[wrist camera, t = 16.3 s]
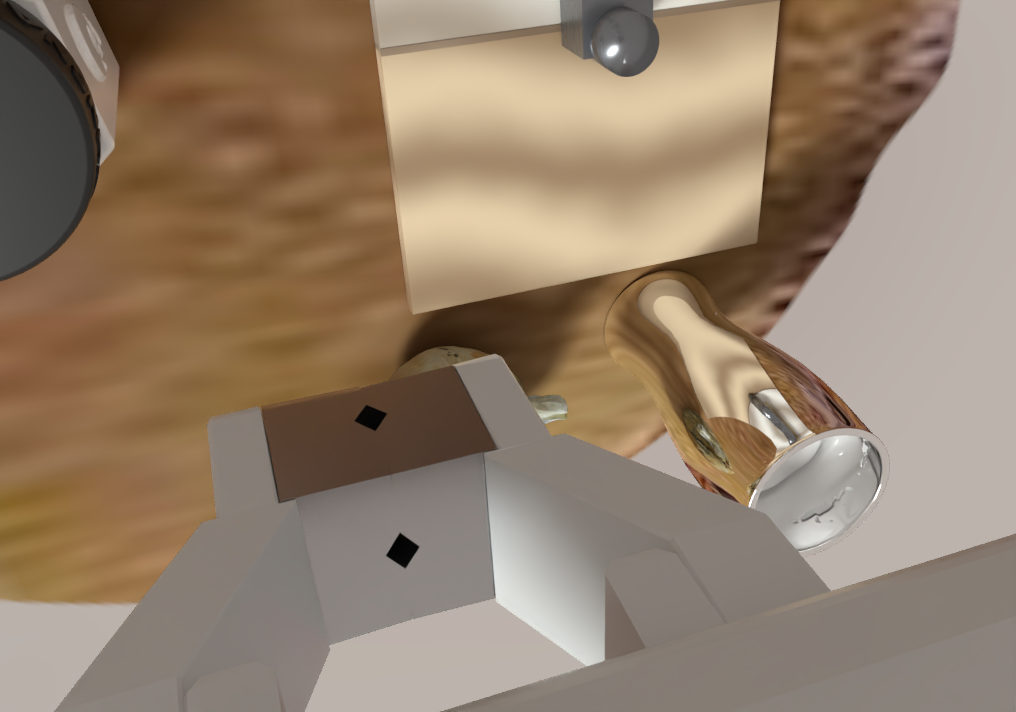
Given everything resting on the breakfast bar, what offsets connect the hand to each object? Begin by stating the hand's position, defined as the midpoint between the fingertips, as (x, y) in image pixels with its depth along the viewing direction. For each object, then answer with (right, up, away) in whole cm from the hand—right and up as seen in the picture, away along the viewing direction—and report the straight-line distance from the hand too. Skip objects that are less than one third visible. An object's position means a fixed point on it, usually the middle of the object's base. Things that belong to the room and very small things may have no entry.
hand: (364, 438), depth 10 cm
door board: (+5, +15, +31) cm, 35 cm away
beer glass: (+9, +3, +41) cm, 42 cm away
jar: (-17, +12, +24) cm, 32 cm away
